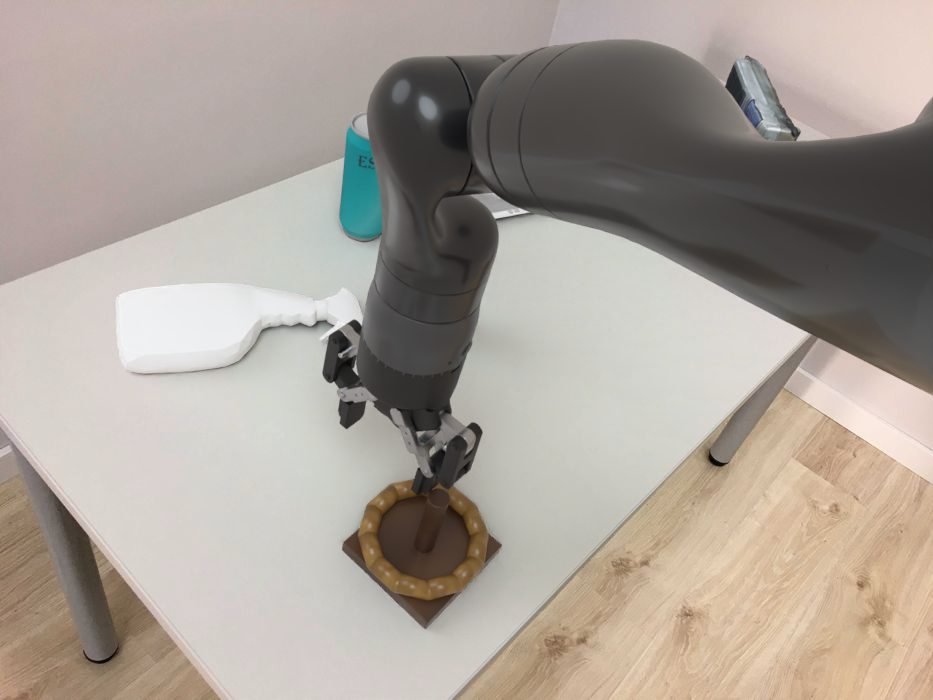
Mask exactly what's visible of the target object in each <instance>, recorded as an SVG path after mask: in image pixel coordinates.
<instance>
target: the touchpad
mask: <svg viewBox="0 0 933 700" xmlns="http://www.w3.org/2000/svg"><path fill="white" fill-rule="evenodd" d="M471 196H472V197H474V198H476V199H478V200H479V201H481V202H482V203H483V204H484V205H485V206H486V207H487V208H488V209H489V210H490V211H491V213H492V215H493V216H494V218H495V220H496V219H500V218H501V219H502V218H506V217H512V216H513V217H514V216H517V215H522V214H528V213H530V212H528V211H525V210H522V209H520V208H518V207H515V206H513V205H511V204H509V203H507V202H506V201H504V200H502V199H501V198H500V197H498V196H497V195H496V194H494V193H486V194H475V195H471Z"/></svg>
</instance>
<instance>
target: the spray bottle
mask: <svg viewBox="0 0 933 700" xmlns="http://www.w3.org/2000/svg"><path fill="white" fill-rule="evenodd" d="M114 309H115V310H114V311H115V331H116V333H115V334H116V347H117V352H118V356H119V360H120V361H119V362H120V365H121V367H122V368H123V370H124V371H125V372H129V373H136V374H161V373H162V374H163V373H187V372H197V371H205V370H210V369H218V368H225V367H229V366H230V365H232V364H233V365H234V364H235V363H237V362H240V361H241V359H242V358H243V357H244V356H245V355H246V354H247V353H248V352H249V350H251V348H252V347H253V346H254V345H255V343H256V342H257V339H258V337H260V334H261V333H262V330H265V329H267V328H270V327H275V328H276V327H279V326H281V325H284V326H290V327H292V326H295V325H298V324H302V325H304V326H307V327H310V328H311V327H313V326H314V325H316V324H317V322H321V321H326V322H327V323H328V324H330V325H333V327H331V328H330V329H329V330H328V331H326V332H324V333H323V335H321V336H320V337H319V339H318V340H319V342H320V343H323V342H325V341H328V338H329V335H330V334H332V333H333V332H335V331H336V330H338V329H339V328H341V327H342V326H344V325H346V324H347V323H349V322H350V321H352V320H354V319H355V320H357V321H358V322H359V323H360V324H361V326H362V322H363V316H364V314H363V312H362V309H361V306H360V303H359V300H358V297H357V296H355V295H354V294H353V293H352V292H350V291H349V290H348V289H347V288H346V287H342V288H341V289H340V291H338V293H336V294H333V295H331V296H328V297H324V299H314V298H313V297H312V296H308V295H303V294H299V293H294V292H290V291H286V290H282V289H281V290H280V289H274V288H268V287H262V286H256V285H253V284H247V283H237V282H236V283H234V282H233V283H231V282H201V283H200V282H199V283H198V282H197V283H179V284H170V285H161V286H160V285H159V286H151V287H150V286H149V287H141V288H136V289H131V290H129V291H125V292H122V293H120V294H119V295H117V296H116V298H115V302H114Z"/></svg>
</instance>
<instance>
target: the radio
mask: <svg viewBox="0 0 933 700" xmlns="http://www.w3.org/2000/svg"><path fill="white" fill-rule="evenodd" d="M724 86H725V88H726V89H727V90H728V91H729V93H730V94H731V95H732V96H733V98H734V99H735V101H736V102H737V104H738V105H739V106H740V108H741V109H742V111H743V112H744V114H745V115H746V117H747V118H748V119H749V121H750V122H751V123H752V125H753V126H754V127H755V128H756V130H757V131H758V132H759V134H761V135H762V136H763V137H764V138H765V139H768V140H773V141H798V139H799V137H800V135H801V133H802V130H801V129H800V128H799V127H797V126H795V124H794V123H793V120H792V119H791V118H790V116H789V115H788V114H787V111H786V108H785V107H783V105H782V104H781V103H780V101H781V100H780V98H779V96H778V94H777V90H776V89H775V87H774V86H773V84H772V82H771V79H770V78H769V75H768V73H767V70H766V68H765V67H764V66H763V64H762V63H761V62H760V61H759V60H758V59H755V58H753V57H751V56H750V55H748V54H746V55H745V56H744V57H743V58H740V59H737V60H735V61H734V62H733V64H732V67H731V69H730V72H729V74H728V77H727V79H726V83H725V85H724Z"/></svg>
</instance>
